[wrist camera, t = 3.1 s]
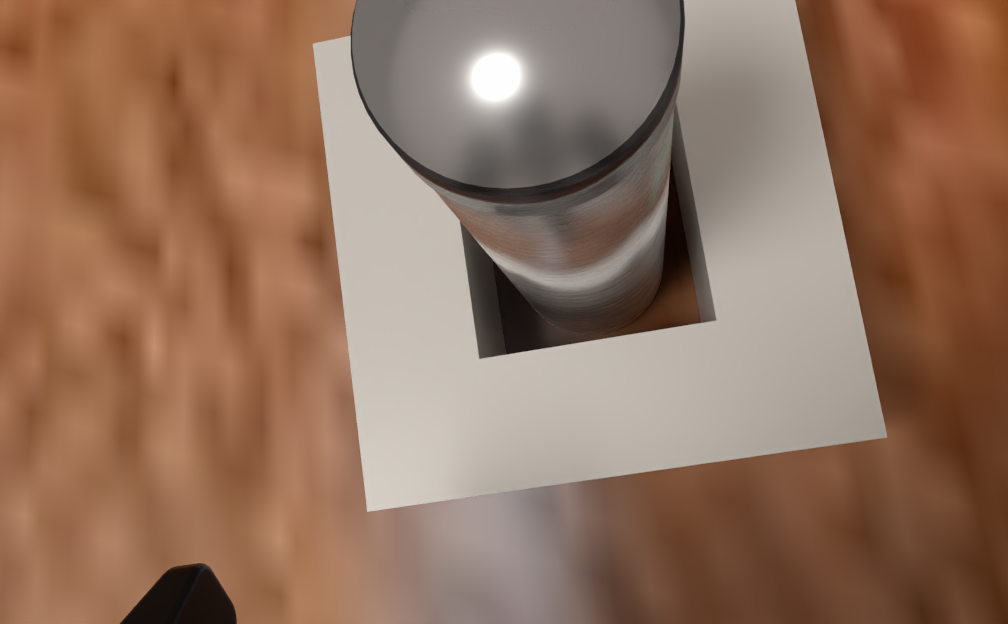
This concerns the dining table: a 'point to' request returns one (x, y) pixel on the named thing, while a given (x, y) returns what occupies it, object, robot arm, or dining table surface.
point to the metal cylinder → (537, 135)
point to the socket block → (624, 359)
